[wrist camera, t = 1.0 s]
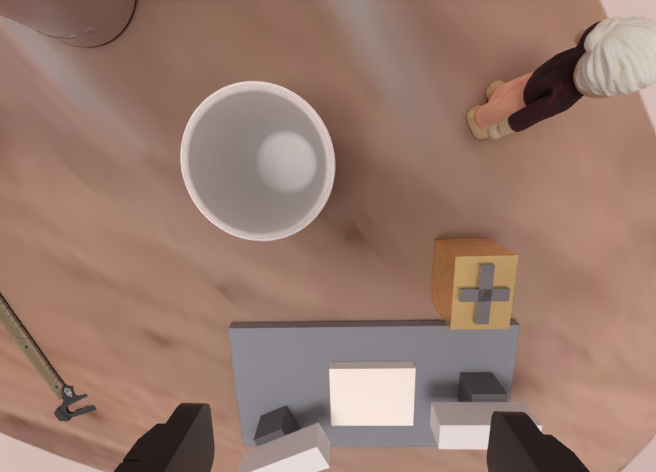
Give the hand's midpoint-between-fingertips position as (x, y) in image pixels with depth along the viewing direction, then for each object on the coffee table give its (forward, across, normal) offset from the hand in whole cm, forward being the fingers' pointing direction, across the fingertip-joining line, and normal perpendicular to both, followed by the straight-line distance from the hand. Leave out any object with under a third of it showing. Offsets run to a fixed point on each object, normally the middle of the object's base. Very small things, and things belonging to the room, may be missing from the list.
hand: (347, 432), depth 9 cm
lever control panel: (+20, -3, +14) cm, 24 cm away
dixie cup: (+19, +5, -8) cm, 21 cm away
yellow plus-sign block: (+20, -10, +2) cm, 22 cm away
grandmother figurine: (+19, -12, -12) cm, 26 cm away
